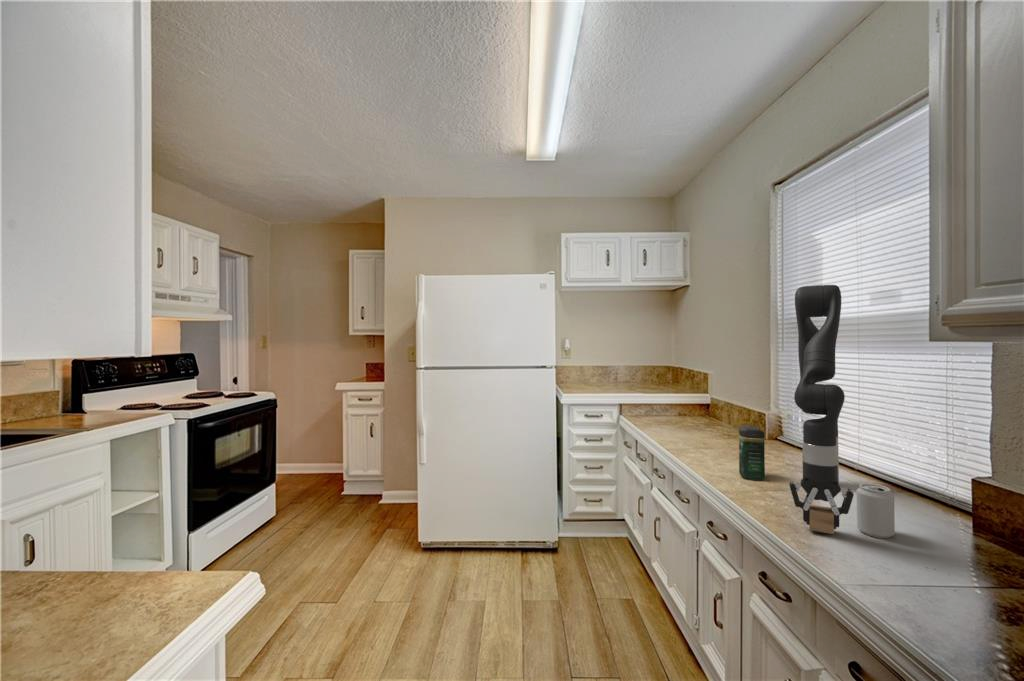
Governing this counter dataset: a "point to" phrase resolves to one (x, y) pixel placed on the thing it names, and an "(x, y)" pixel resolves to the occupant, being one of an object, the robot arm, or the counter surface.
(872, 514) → the can
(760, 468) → the coffee jar
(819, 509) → the block
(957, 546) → the counter surface
